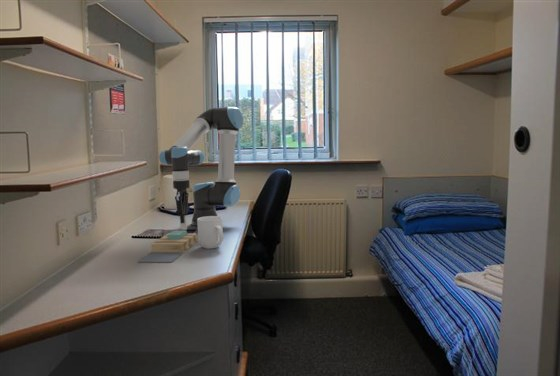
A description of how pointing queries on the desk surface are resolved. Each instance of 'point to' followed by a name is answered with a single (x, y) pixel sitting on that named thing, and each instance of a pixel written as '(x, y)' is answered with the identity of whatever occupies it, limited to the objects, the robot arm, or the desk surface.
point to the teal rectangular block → (176, 234)
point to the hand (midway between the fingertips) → (183, 229)
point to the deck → (174, 244)
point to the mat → (161, 257)
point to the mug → (210, 231)
